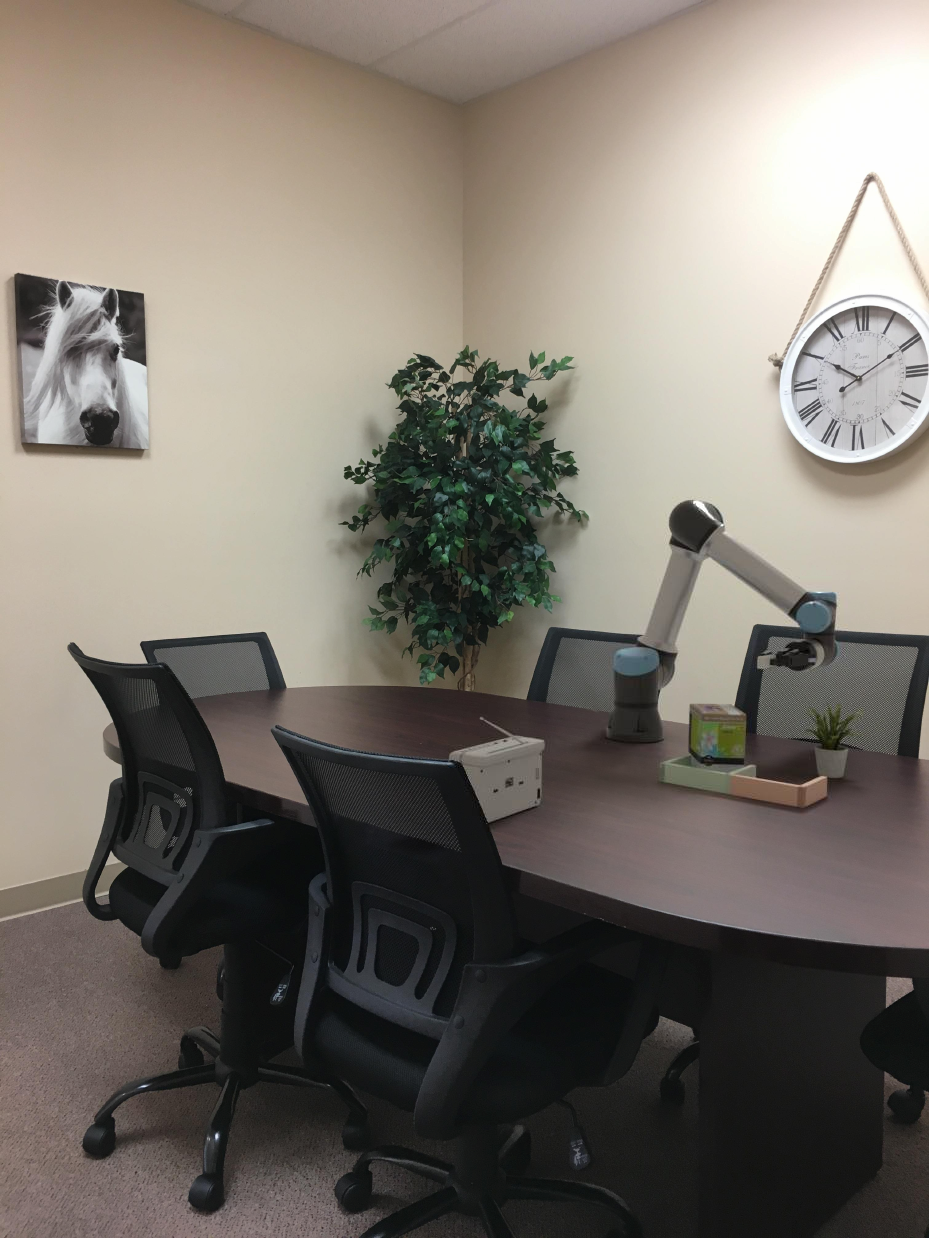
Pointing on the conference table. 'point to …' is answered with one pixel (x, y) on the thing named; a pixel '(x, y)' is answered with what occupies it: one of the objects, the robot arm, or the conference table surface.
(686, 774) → the green bay
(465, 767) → the stereo radio cassette player
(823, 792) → the terracotta bay
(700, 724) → the tea box
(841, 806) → the conference table surface
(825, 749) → the house plant
